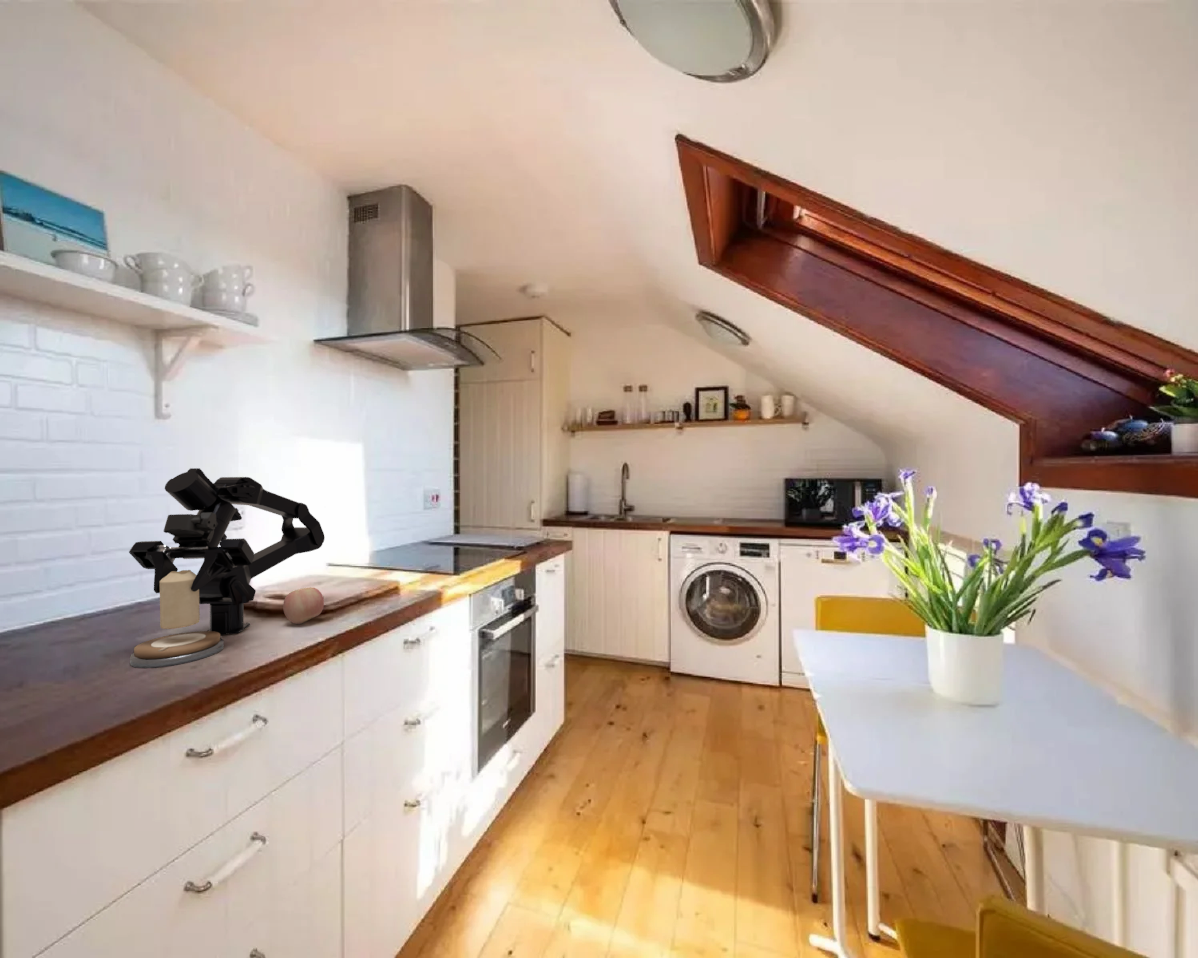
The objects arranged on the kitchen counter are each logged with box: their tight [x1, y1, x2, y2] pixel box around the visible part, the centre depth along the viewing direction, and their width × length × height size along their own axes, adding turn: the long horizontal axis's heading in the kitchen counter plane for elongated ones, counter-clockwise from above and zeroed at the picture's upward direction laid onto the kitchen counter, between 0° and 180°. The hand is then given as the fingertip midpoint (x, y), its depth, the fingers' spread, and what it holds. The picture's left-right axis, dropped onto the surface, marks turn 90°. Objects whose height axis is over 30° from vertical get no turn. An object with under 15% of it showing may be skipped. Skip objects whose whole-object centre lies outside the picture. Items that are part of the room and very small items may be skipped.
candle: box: [159, 569, 201, 630], centre depth 89 cm, size 6×6×10 cm
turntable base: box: [129, 637, 225, 669], centre depth 89 cm, size 13×13×1 cm
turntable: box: [133, 630, 221, 659], centre depth 89 cm, size 12×12×1 cm
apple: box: [282, 586, 325, 625], centre depth 109 cm, size 8×8×8 cm
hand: (174, 591), depth 88 cm, fingers closed on candle, 5 cm apart
